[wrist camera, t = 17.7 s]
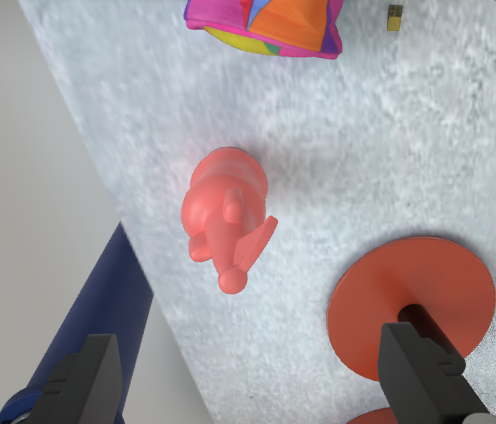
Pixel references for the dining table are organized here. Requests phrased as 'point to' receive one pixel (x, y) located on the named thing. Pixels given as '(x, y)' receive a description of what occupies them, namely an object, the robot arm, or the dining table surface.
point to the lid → (411, 300)
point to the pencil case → (271, 25)
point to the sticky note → (394, 18)
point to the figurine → (227, 215)
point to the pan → (376, 417)
